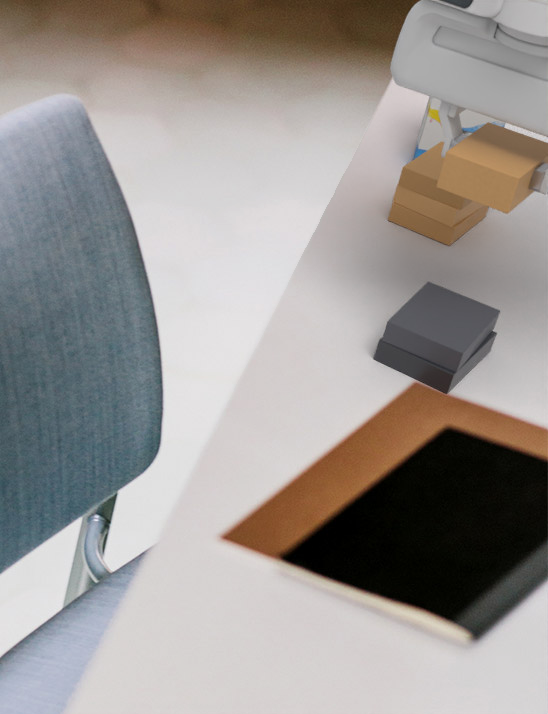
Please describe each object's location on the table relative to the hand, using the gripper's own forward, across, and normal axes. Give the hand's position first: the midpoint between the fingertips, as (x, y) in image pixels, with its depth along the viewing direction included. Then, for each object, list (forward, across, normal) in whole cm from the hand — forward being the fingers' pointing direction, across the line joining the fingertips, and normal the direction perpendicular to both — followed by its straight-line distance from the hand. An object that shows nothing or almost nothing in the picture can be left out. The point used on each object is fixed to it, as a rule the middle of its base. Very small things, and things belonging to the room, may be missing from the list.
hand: (494, 173), depth 94 cm
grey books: (+17, 0, +1) cm, 17 cm away
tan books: (+17, +11, -23) cm, 30 cm away
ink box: (+17, +16, -37) cm, 44 cm away
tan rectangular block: (+1, 0, 0) cm, 1 cm away
